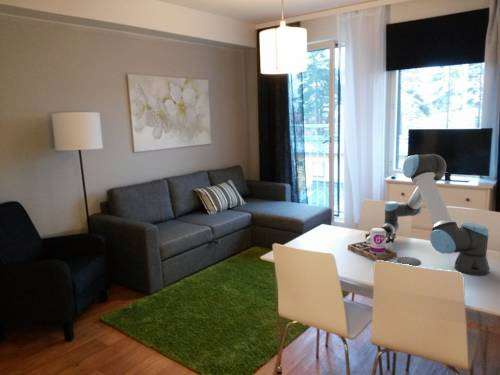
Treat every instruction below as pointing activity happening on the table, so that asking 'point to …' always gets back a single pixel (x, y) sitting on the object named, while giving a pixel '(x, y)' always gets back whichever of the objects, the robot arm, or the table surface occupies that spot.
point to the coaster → (408, 261)
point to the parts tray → (365, 248)
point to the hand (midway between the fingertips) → (375, 242)
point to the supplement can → (377, 241)
